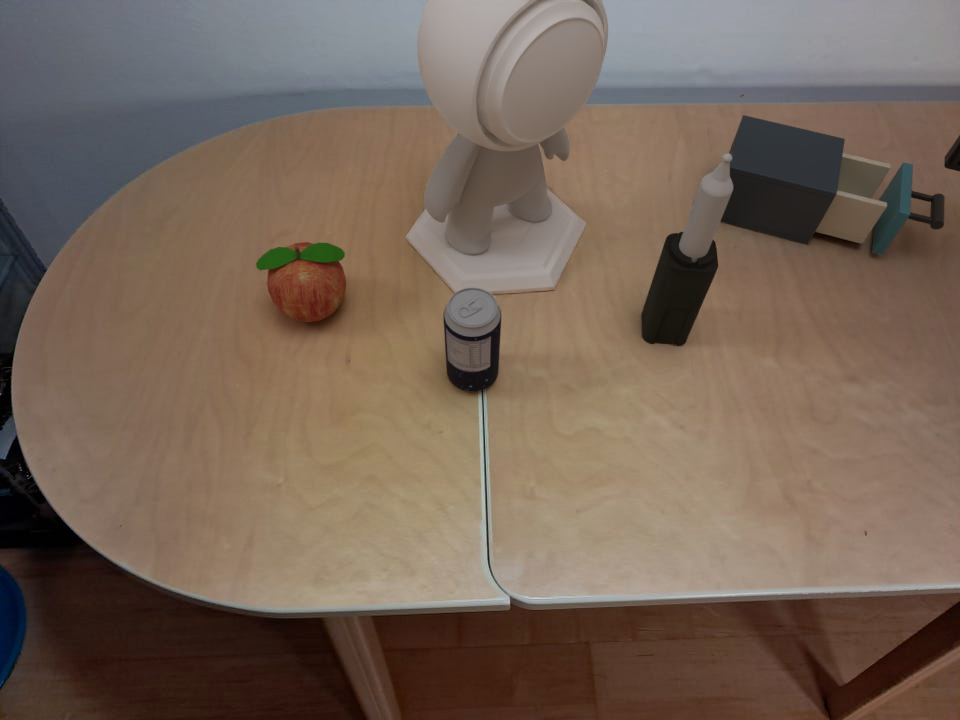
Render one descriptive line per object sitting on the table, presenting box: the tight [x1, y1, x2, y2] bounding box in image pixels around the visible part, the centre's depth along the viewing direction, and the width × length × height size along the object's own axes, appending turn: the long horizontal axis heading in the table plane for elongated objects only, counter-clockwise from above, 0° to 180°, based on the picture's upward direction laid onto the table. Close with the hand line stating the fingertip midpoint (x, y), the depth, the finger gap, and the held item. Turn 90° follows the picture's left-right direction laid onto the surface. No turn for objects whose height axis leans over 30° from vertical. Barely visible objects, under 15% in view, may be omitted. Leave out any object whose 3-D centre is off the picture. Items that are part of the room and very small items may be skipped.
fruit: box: [255, 241, 347, 323], centre depth 78 cm, size 9×10×10 cm
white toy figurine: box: [405, 0, 609, 296], centre depth 75 cm, size 20×23×35 cm
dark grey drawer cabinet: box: [720, 114, 846, 246], centre depth 89 cm, size 13×11×9 cm
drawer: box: [815, 152, 946, 256], centre depth 87 cm, size 16×9×7 cm, turn 69°
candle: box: [640, 152, 733, 347], centre depth 71 cm, size 5×5×25 cm
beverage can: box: [442, 288, 502, 393], centre depth 72 cm, size 6×6×12 cm
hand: (953, 165), depth 79 cm, fingers closed
